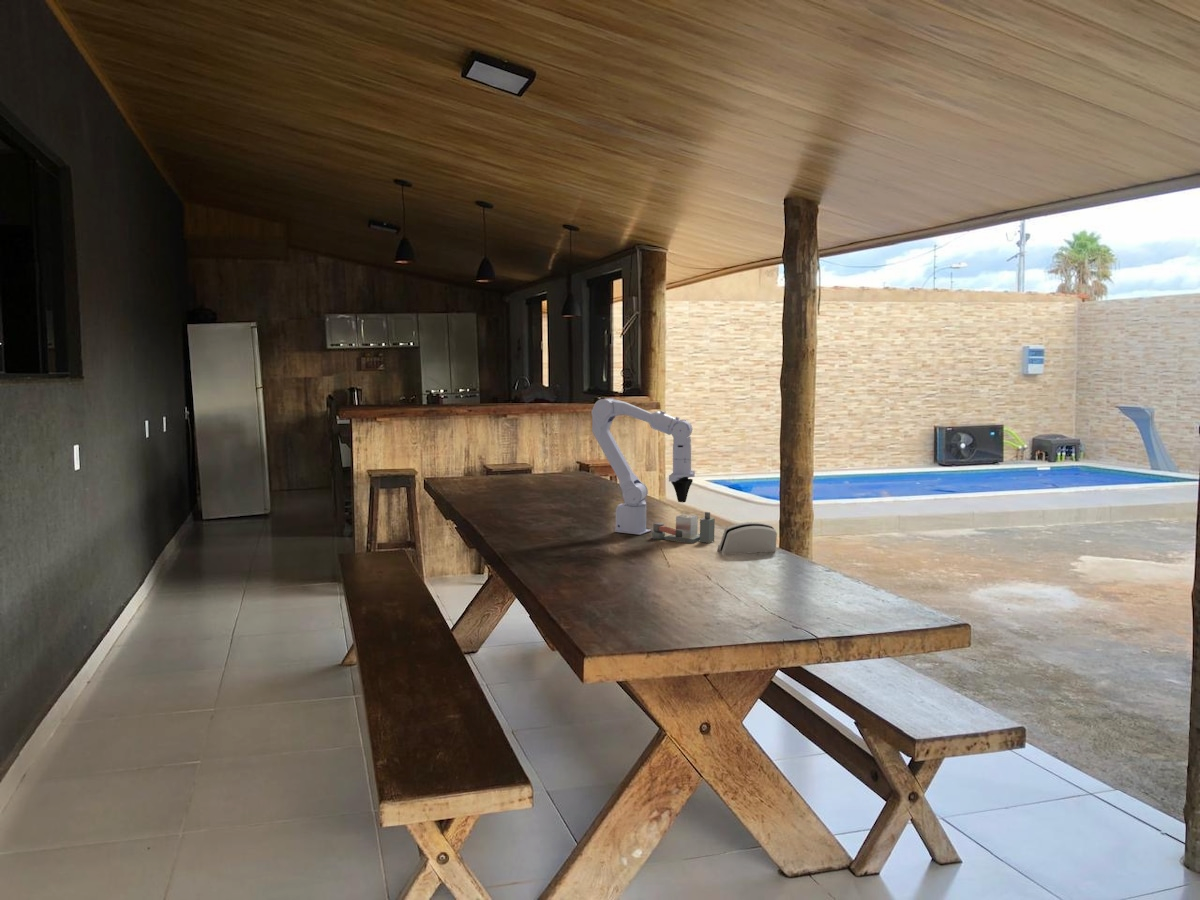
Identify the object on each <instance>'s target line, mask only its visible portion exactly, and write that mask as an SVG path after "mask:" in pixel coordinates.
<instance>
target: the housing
mask: <svg viewBox="0 0 1200 900" xmlns="http://www.w3.org/2000/svg"><path fill="white" fill-rule="evenodd" d="M698 518H699V517H698V515H695V514H685V513H683V514H679V515H676V516H675V529H676V530H682V537H689V538H691V537H694V536H696V535H697V534H698V530H699V529H698V527H699V525H698V521H699V520H698Z"/></svg>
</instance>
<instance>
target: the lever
mask: <svg viewBox="0 0 1200 900" xmlns="http://www.w3.org/2000/svg"><path fill="white" fill-rule="evenodd" d="M652 528H653V531H655V532H665V534H669V535H675V537H682V530H676V528H672V527H669V526H665V523H664V522H655V523H653V527H652Z"/></svg>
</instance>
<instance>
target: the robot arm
mask: <svg viewBox="0 0 1200 900" xmlns="http://www.w3.org/2000/svg"><path fill="white" fill-rule="evenodd" d="M623 415H624V416H625V415H626V416H628V417H632V418H634V419H637V420H639V421H643V422H646V423H648V424H649V426H650V428H651V429H653V430H655V431H657V432H661V433H664V434H667V435H669V436H670V435H671V436H672V438H673V443H672V472H671V474H668V482H671V484H672V485H671V486H673V488H674V490H675V496H676V498H677V503H686V502H687V498H688V494H689V491H690V488H691V485H692V483H693V480H694V479H693V478H694V477H695V472H696V471H695V470H692V438H691V437H692V436H691V435H692V433H693V426H692V424H691V423H690V422H689V421H688V420H687V419H681V420H680V417H679V416H671V415H670V414H666V411H664V410H660V411H659V410H657V411H654V412H650V411H648V410H646V409H644V408H640V407H638V406H637V405H634V404H631V403H629V402H626V401H623V400H619V399H615V398H612V397H608V398H601V399H598V400H597V401H596V402H595V403H594V405H593V408H592V410H591V417H592V418H591V419H592V422H591V423H592V425H591V426H592V427H591V432H592V434H593V436H594V438H595V439H596V441H597V443H598V445H599V447H600V448H601V450H602V452H603V454H604V456H605V457H606V459H607V461H608V463H609V465H610V467H611V468H612V470H613V472H614V473H615V475H616V477H617V479H618V480H619V481H618V482H619V488H620V489H621V494H622V499H623V501H624V502H623V503H619V504H618V505H617V506H616V508H615V523H614V524H615V526H614V527H615V529H614V530H613V531H614V532H615V533H623V534H631V535H638V536H640V535H641V536H642V535H644V534H646V533H649V532H652V529H648V528H647V502H646V498H647V496H648V487H647V485H646V484H644V483H643V482H642V481H641V480H640V478H639V477H638V476H637V475H636V474H635V473H634V471H633V470H632V469H631V467H630V464H629V463H628V461H627V459H626V457H625V456H624V454H623V452H622V451H621V449H620V446H619V445H618V443H617V442H616V440H615V437H614V436H613V434H612V433H611V431H610V429H611V425H612V422H613V420H614V419H615V418H616V417H617V416H623Z"/></svg>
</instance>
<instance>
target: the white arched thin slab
mask: <svg viewBox="0 0 1200 900" xmlns="http://www.w3.org/2000/svg"><path fill="white" fill-rule="evenodd" d="M777 536H778V533H777V531H776V529H775V528H774V527H773V526H772V525H770V524H767V523H765V522H757V521H756V522H755V521H754V522H753V521H751V522H749V521H747V522H740V523H736V524H732V525H729V526H727V527H725V528H724V531H723V534H722V537H721V540H720V543H719V545H718V546H717V550H716V551H717V552H721V554H722V555H738V554H739V553H742V554H754V553H756V554H758V553H757V552H760V553H775V551H777V550H776V549H777ZM775 548H776V549H775ZM739 555H740V554H739Z"/></svg>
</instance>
